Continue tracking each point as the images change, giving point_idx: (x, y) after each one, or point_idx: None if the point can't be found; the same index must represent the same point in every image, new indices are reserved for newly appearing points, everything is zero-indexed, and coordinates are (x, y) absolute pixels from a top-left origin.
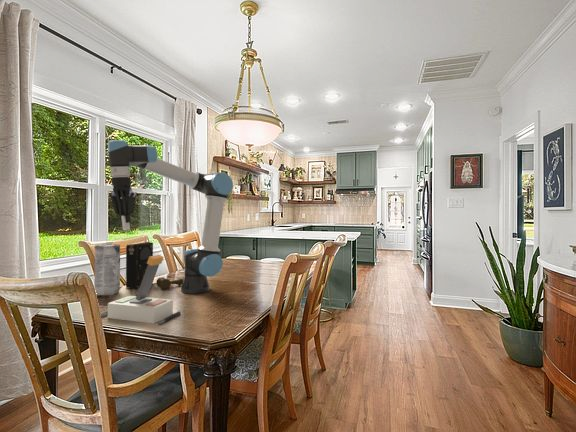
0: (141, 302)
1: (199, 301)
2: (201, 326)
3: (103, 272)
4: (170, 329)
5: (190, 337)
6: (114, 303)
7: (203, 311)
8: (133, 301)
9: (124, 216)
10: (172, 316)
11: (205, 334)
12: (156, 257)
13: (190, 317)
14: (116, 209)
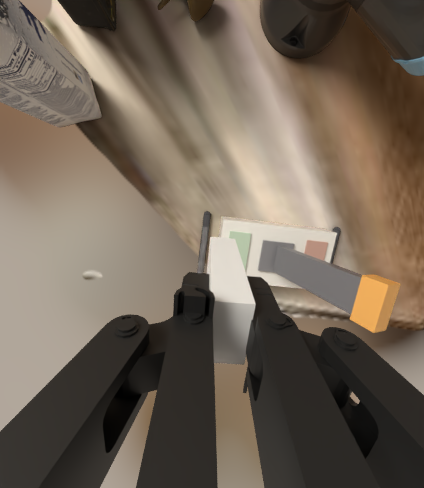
0: None
1: (347, 129)
2: (392, 276)
3: (39, 103)
4: None
5: None
6: None
7: (376, 201)
8: (266, 269)
9: (242, 354)
10: (334, 254)
11: (406, 304)
12: (387, 312)
13: (361, 239)
14: (114, 446)
